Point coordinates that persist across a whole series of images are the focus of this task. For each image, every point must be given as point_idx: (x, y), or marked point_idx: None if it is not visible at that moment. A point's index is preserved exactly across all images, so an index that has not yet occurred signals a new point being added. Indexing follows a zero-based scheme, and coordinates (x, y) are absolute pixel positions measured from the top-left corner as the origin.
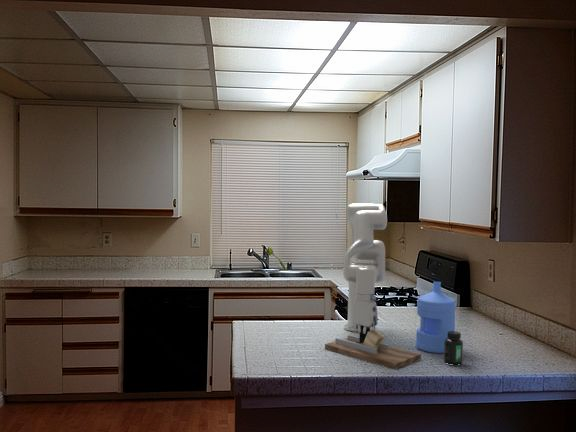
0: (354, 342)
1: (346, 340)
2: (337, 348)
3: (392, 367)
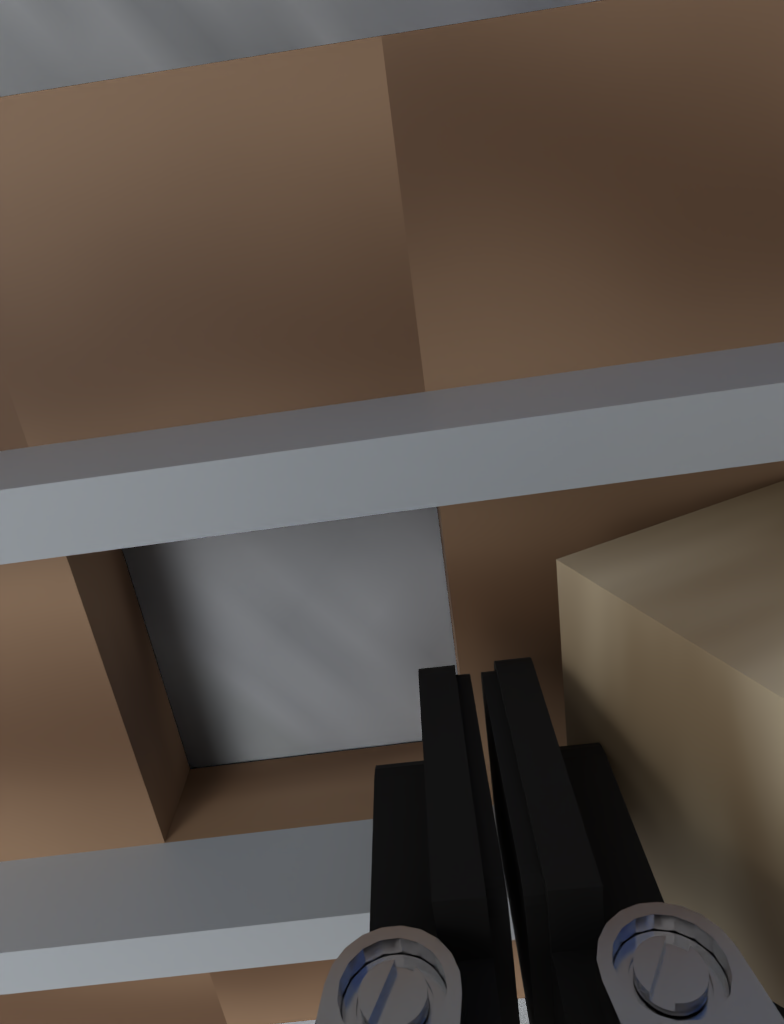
0: (366, 912)
1: (131, 943)
2: (218, 1014)
3: None
